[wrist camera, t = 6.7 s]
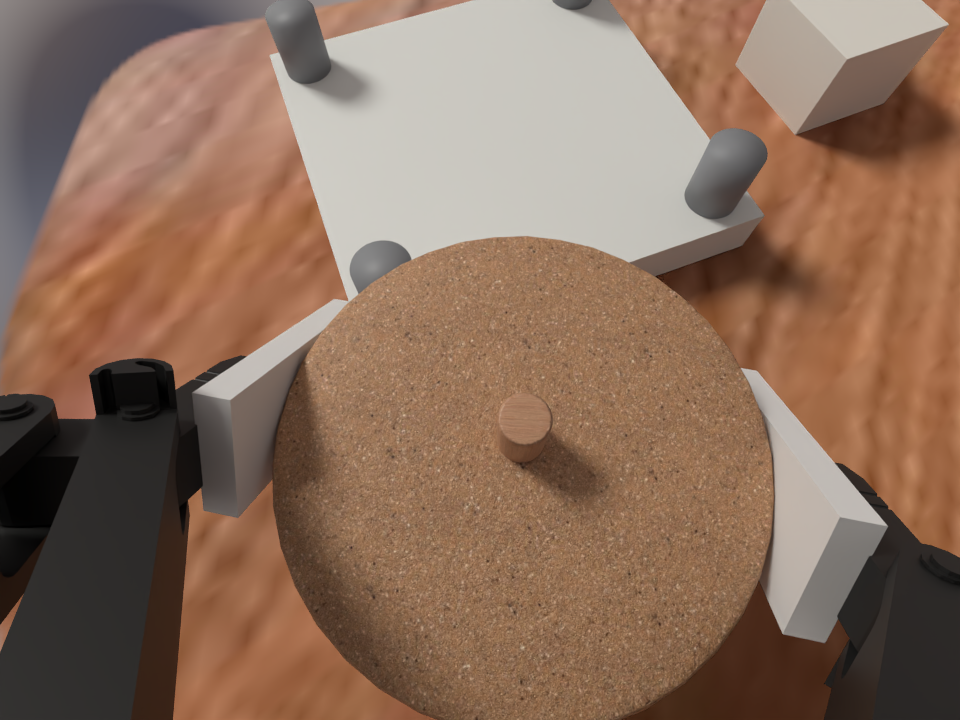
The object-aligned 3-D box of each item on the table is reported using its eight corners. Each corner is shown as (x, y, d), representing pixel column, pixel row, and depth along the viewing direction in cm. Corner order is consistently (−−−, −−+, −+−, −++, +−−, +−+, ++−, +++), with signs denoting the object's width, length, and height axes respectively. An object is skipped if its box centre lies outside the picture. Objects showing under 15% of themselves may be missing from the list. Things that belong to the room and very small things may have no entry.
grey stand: (741, 245, 22) (799, 169, 18) (377, 374, 20) (347, 320, 16) (580, 9, 28) (596, -89, 24) (285, 92, 26) (246, -1, 22)
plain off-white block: (881, 105, 25) (948, 24, 22) (793, 137, 25) (847, 59, 21) (818, 39, 27) (869, -46, 23) (734, 67, 26) (773, -16, 23)
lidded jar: (377, 346, 21) (296, 179, 12) (653, 360, 20) (776, 196, 12) (331, 657, 17) (157, 743, 8) (676, 682, 16) (892, 802, 8)
